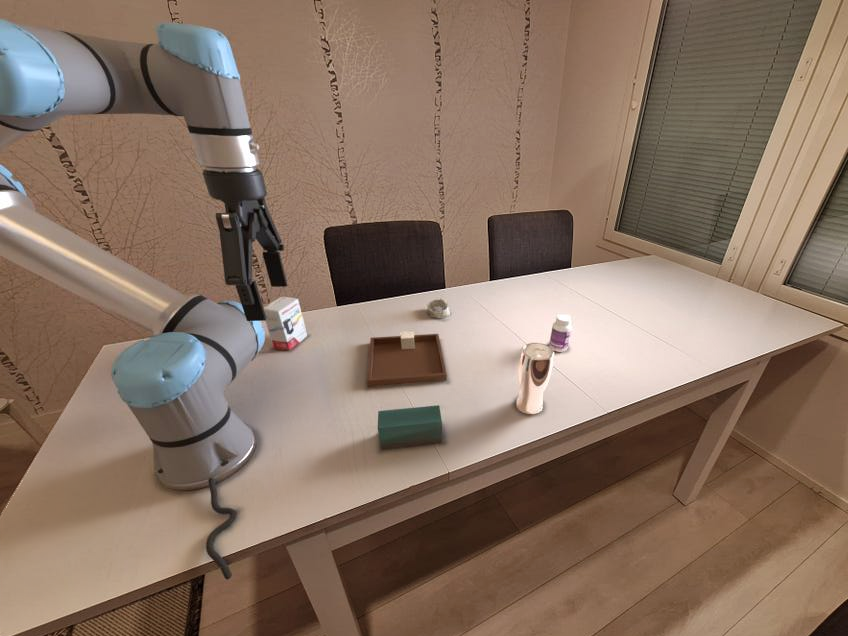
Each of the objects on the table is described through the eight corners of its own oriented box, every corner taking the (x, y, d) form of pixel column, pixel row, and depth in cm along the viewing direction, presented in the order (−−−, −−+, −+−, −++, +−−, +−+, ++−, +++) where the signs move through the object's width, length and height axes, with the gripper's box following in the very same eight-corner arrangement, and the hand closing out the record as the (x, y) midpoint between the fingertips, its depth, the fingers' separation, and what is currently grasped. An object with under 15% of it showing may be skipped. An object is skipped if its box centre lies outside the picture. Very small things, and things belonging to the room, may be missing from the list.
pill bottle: (567, 353, 104) (573, 323, 98) (548, 350, 104) (553, 320, 99) (567, 343, 108) (573, 314, 103) (549, 341, 109) (554, 312, 103)
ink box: (289, 351, 98) (277, 311, 92) (273, 348, 99) (260, 309, 92) (308, 335, 105) (298, 297, 99) (292, 333, 106) (282, 295, 99)
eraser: (442, 443, 74) (442, 421, 71) (380, 450, 72) (377, 428, 68) (439, 426, 78) (439, 405, 75) (381, 432, 76) (378, 410, 72)
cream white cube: (414, 348, 101) (414, 337, 99) (401, 349, 100) (400, 338, 98) (414, 342, 104) (413, 331, 102) (401, 342, 103) (400, 331, 101)
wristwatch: (454, 318, 118) (454, 303, 115) (436, 322, 115) (436, 308, 112) (440, 306, 124) (439, 293, 121) (423, 310, 121) (422, 296, 118)
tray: (446, 382, 90) (446, 374, 89) (368, 388, 87) (366, 380, 86) (438, 340, 106) (438, 333, 105) (371, 344, 103) (370, 337, 101)
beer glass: (536, 420, 81) (546, 364, 72) (508, 407, 84) (515, 352, 75) (549, 403, 86) (560, 348, 77) (522, 391, 89) (530, 338, 80)
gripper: (227, 184, 44) (271, 337, 56) (282, 158, 64) (306, 274, 76) (155, 182, 43) (217, 338, 55) (234, 156, 63) (267, 274, 75)
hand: (269, 301), depth 65 cm, fingers open, 13 cm apart
